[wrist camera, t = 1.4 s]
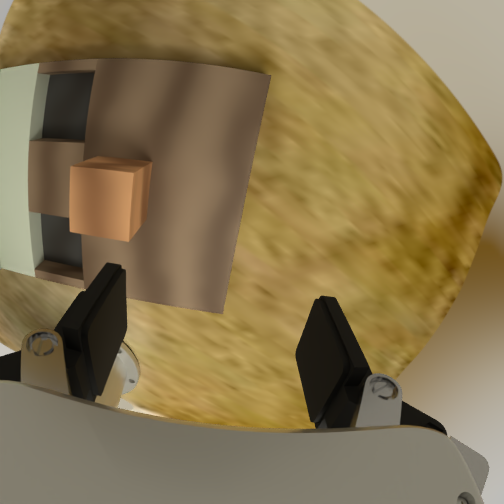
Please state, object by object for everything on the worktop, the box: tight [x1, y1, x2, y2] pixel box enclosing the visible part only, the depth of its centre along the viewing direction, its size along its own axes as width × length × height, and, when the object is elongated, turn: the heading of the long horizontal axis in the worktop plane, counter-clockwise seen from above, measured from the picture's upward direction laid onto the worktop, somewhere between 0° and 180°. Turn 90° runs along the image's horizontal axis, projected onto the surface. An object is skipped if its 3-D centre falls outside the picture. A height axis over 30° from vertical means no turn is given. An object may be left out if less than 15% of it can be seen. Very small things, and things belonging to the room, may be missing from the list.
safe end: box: [0, 63, 50, 277], centre depth 22 cm, size 7×22×4 cm, turn 168°
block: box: [69, 156, 152, 242], centre depth 22 cm, size 5×5×5 cm
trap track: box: [28, 58, 271, 314], centre depth 25 cm, size 21×22×2 cm
